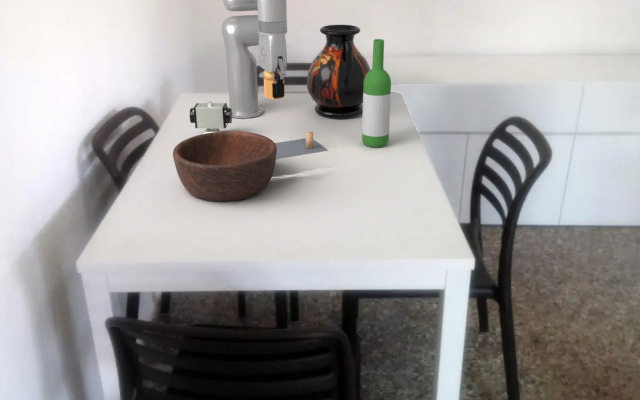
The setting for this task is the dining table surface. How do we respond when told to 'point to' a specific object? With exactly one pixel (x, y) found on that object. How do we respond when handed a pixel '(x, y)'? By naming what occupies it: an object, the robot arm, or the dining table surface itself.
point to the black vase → (338, 74)
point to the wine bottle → (376, 101)
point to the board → (298, 147)
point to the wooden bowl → (225, 164)
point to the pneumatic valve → (211, 116)
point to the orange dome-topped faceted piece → (269, 85)
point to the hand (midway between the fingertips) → (274, 93)
